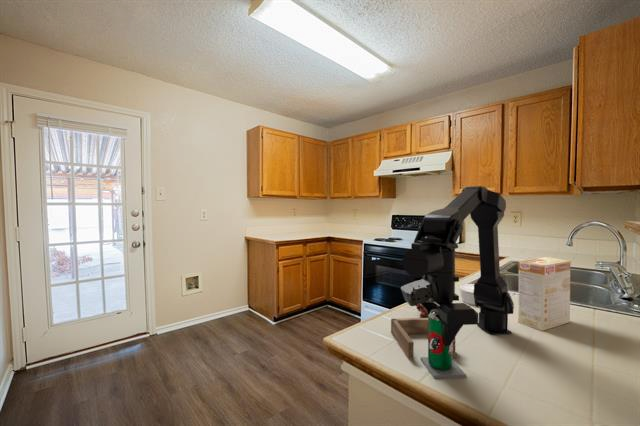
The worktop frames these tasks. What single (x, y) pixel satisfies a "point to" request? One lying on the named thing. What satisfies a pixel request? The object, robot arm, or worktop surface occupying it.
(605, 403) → the worktop surface
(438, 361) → the soda can
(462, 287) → the ramekin
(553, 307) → the coffeecake box
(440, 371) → the slate coaster
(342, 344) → the worktop surface
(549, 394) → the worktop surface
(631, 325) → the worktop surface
